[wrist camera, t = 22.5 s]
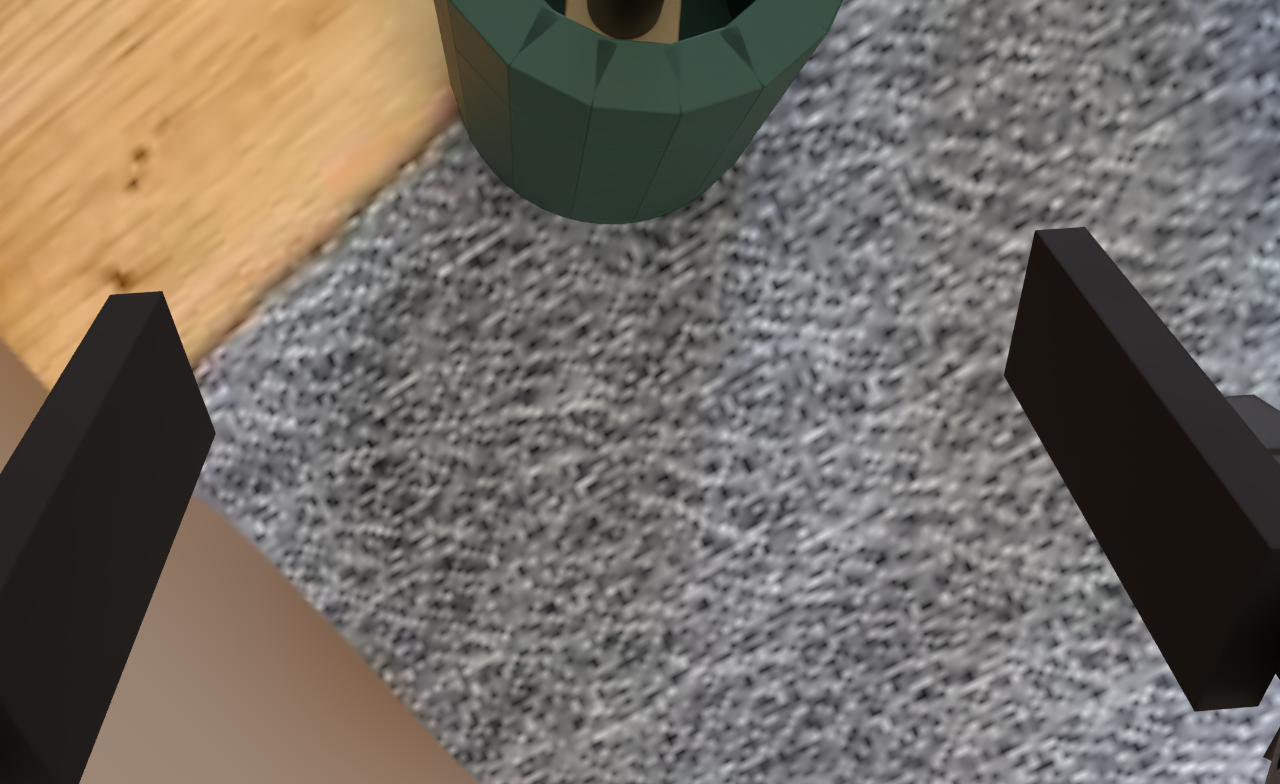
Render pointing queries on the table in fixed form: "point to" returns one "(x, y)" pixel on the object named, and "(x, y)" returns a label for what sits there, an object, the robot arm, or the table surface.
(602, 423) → the table surface
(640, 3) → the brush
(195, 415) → the robot arm
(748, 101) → the green plastic cup
